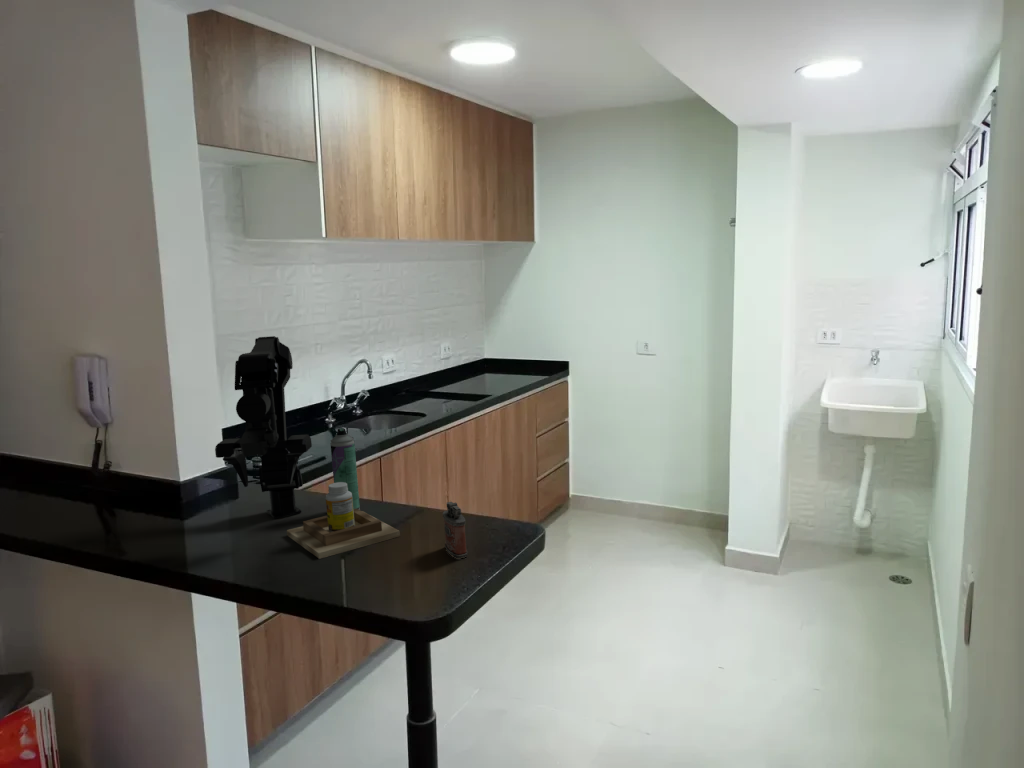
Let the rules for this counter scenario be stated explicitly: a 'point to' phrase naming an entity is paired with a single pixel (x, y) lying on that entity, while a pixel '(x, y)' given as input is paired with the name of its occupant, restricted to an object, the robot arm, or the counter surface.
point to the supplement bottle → (339, 507)
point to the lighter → (454, 531)
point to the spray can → (345, 463)
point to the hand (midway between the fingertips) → (268, 485)
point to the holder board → (341, 535)
